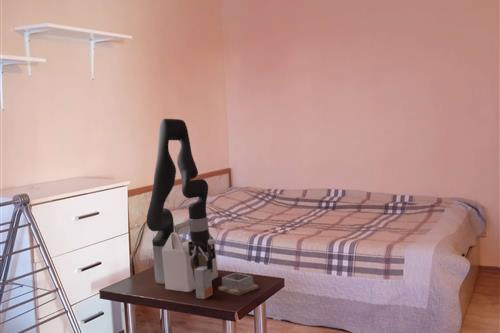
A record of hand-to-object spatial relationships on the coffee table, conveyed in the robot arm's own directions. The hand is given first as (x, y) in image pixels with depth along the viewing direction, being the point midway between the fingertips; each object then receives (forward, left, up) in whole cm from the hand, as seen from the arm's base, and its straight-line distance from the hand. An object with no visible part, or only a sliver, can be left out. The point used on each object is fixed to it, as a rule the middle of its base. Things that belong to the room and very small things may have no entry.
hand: (203, 267), depth 210 cm
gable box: (-19, +8, -12) cm, 24 cm away
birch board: (+5, +14, -12) cm, 19 cm away
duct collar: (+5, +14, -11) cm, 18 cm away
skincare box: (0, 0, -12) cm, 12 cm away
